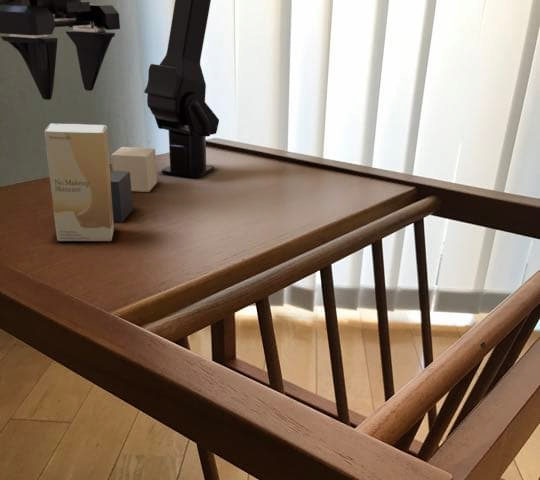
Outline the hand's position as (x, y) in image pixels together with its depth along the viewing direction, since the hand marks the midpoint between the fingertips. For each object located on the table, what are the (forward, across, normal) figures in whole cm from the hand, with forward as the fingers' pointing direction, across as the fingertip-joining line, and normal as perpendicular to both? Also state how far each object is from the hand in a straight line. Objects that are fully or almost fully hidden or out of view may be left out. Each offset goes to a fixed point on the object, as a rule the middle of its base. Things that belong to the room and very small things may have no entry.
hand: (68, 94), depth 81 cm
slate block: (+13, +6, +8) cm, 16 cm away
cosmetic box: (+13, +14, +10) cm, 22 cm away
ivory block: (+13, -7, +5) cm, 15 cm away
